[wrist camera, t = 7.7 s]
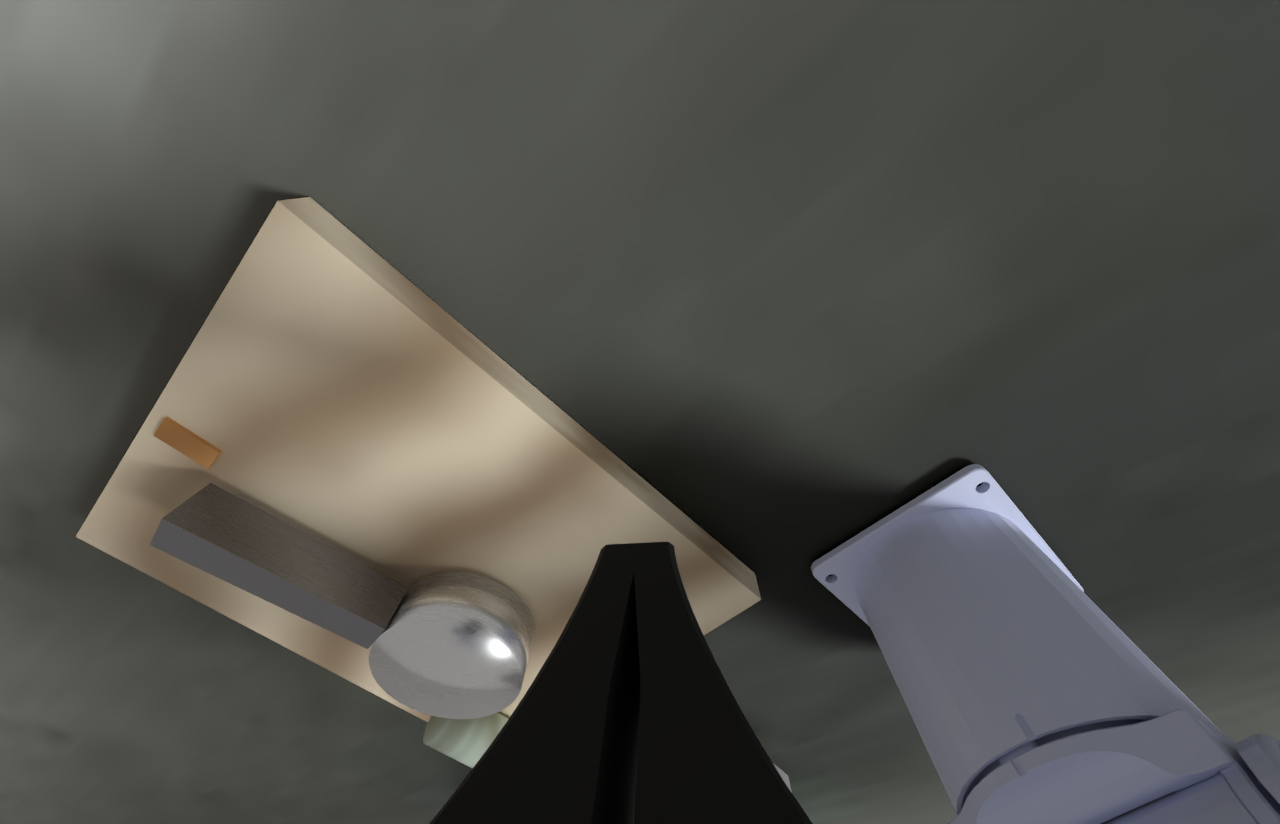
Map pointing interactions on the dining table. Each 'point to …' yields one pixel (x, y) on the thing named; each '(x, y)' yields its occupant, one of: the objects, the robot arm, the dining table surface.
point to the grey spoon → (367, 605)
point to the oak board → (386, 457)
